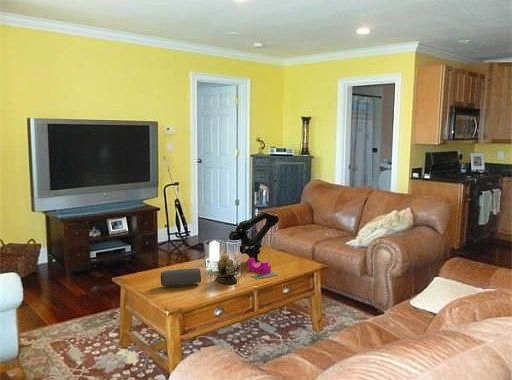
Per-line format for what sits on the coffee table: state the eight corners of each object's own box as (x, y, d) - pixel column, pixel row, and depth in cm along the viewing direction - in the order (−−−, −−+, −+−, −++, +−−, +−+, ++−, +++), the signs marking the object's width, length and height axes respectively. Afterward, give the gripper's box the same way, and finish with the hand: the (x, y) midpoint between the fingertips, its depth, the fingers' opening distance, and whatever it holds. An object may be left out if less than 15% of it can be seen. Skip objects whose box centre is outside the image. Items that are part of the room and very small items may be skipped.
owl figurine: (242, 283, 273) (242, 256, 271) (226, 287, 266) (226, 259, 264) (227, 275, 287) (227, 249, 285) (211, 278, 281) (211, 252, 278)
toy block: (270, 272, 294) (270, 261, 293) (263, 274, 290) (263, 263, 289) (255, 267, 305) (255, 256, 304) (248, 269, 301) (248, 258, 300)
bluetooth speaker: (197, 281, 275) (197, 265, 274) (201, 286, 267) (201, 270, 265) (160, 285, 268) (160, 269, 266) (162, 290, 259) (162, 273, 258)
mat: (251, 276, 287) (251, 275, 287) (272, 272, 295) (272, 272, 295) (256, 279, 281) (256, 278, 281) (277, 275, 289) (277, 275, 289)
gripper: (252, 243, 322) (259, 262, 314) (229, 246, 313) (236, 266, 305) (258, 235, 314) (265, 255, 307) (234, 238, 305) (241, 258, 297)
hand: (252, 259), depth 304 cm, fingers closed
